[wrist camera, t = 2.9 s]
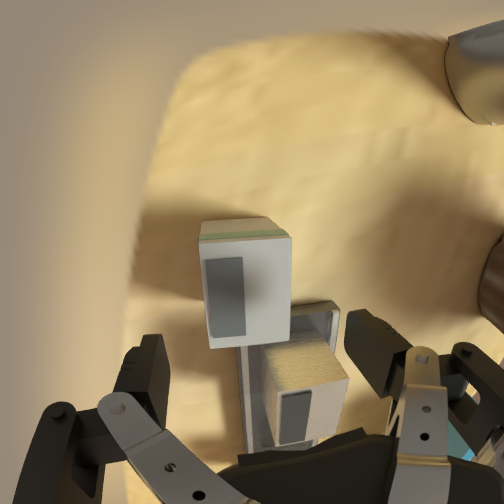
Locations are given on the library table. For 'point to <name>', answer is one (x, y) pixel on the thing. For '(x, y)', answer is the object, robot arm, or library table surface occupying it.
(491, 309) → the plant pot
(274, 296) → the block
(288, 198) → the library table surface
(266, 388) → the rail
